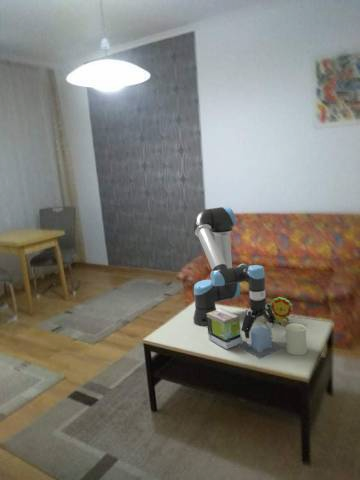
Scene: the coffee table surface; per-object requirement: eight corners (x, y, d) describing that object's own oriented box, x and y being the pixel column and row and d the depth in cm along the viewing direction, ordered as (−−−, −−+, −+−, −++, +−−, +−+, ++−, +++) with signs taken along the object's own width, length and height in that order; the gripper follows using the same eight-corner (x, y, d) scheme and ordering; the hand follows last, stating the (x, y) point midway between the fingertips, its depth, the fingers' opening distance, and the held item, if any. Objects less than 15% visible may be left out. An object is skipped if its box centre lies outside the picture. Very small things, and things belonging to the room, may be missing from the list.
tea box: (242, 343, 180) (240, 315, 177) (226, 350, 175) (224, 321, 172) (223, 333, 193) (220, 307, 190) (207, 339, 188) (205, 312, 185)
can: (308, 355, 164) (307, 331, 162) (287, 355, 166) (286, 331, 164) (305, 345, 173) (304, 322, 171) (285, 345, 175) (284, 322, 173)
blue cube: (248, 345, 178) (247, 330, 176) (260, 340, 182) (259, 325, 180) (259, 351, 171) (258, 335, 169) (271, 346, 175) (271, 330, 173)
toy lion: (262, 323, 200) (261, 297, 197) (264, 319, 205) (263, 294, 202) (291, 327, 193) (291, 300, 190) (293, 322, 198) (292, 296, 195)
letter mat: (236, 345, 179) (236, 344, 179) (260, 335, 187) (260, 334, 187) (259, 358, 166) (259, 357, 166) (283, 346, 174) (283, 346, 173)
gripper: (242, 307, 162) (245, 350, 166) (282, 293, 174) (283, 333, 179) (232, 302, 168) (234, 344, 173) (270, 289, 181) (272, 328, 185)
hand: (259, 339), depth 176 cm, fingers open, 13 cm apart
